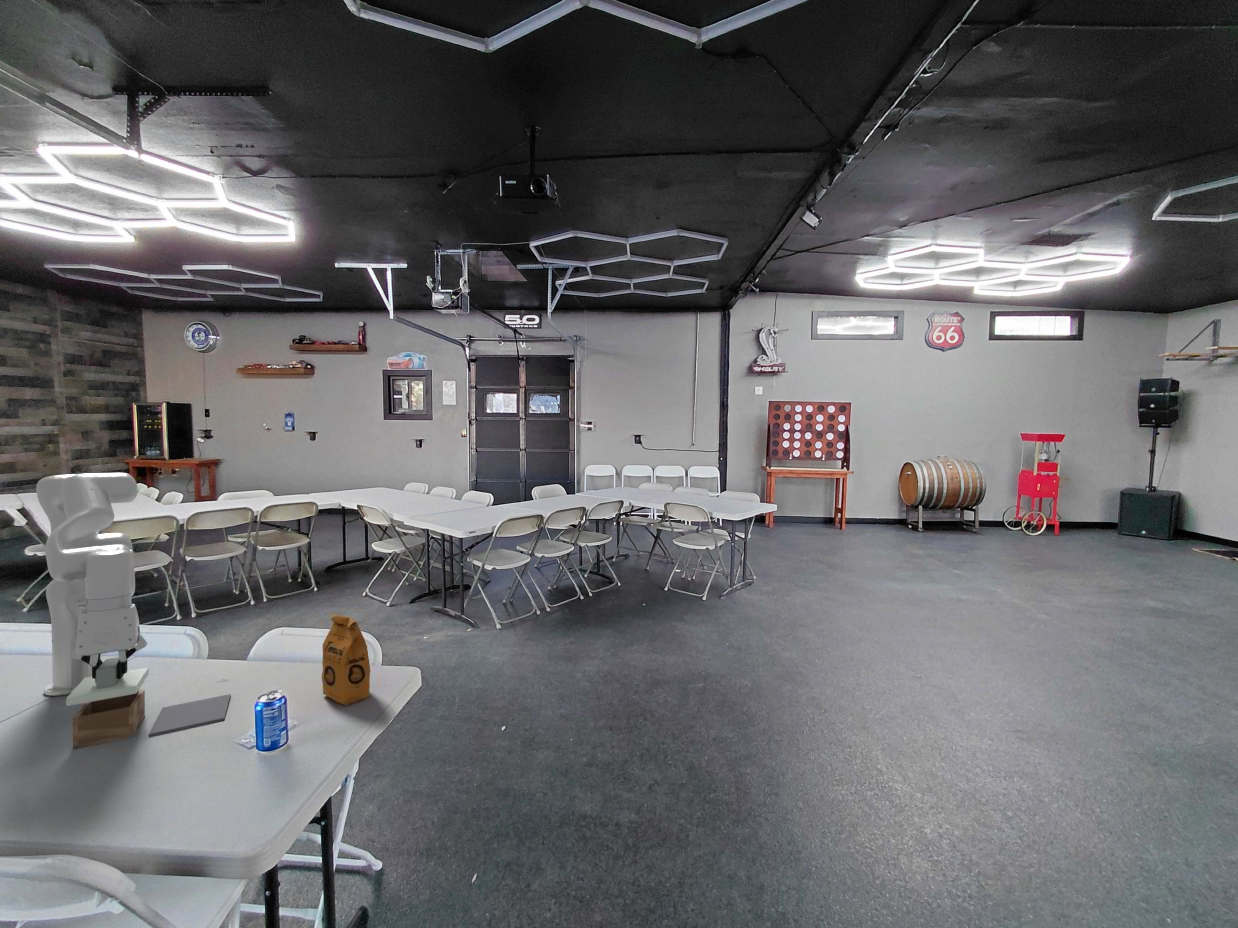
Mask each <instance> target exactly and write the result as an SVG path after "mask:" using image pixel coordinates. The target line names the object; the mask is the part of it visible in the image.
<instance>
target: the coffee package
mask: <svg viewBox="0 0 1238 928" xmlns="http://www.w3.org/2000/svg"><path fill="white" fill-rule="evenodd" d="M330 621H331V622H333V623H332V624H331V627H330V629H329V631H328V632H327V635H326V636H325V639H324V642H323V643H322V663H321V664H322V673H321V681H322V695H325V696H326V697H327V698H330V699H332V700H333V701H334V702H336V703H338V704H342V705H343V706H349V705H351V704H355V703H358V702H359V701H362V700H365V699H367V698H369V697H370V695H371V694H370V690H371V689H370V687H371V686H370V685H371V684H370V683H371V682H370V678H371V664H370V658H369V657H370V656H369V650H368V645H367V643H366V639H365V637H364V635H363V633H362V631H361V629H360V627H359V625H358V622H357V621H355V620H354V619H353V618H351V617H348V616H344V615H339V614H334V615H333V616H331V619H330Z"/></svg>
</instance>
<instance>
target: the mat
mask: <svg viewBox="0 0 1238 928" xmlns="http://www.w3.org/2000/svg"><path fill="white" fill-rule="evenodd" d="M230 701H231V694H230V693H229V694H224V695H218V696H214V697H209V698H204V699H199V700H195V701H190V702H185V703H184V702H183V703H180V704H174V705H169V706H164V707H162V708H161V710H160V712H159V714H158V715H157V718H156V719H155V721H154V724H153V725H152V727H151V729H150V731H149V733H148V737H153V736H159V735H163V734H166V733H167V734H168V733H171V732H177V731H181V730H185V729H189V728H194V727H199V726H204V725H208V724H212V723H217V722H222V721H224V720H225V718H226V714H227V712H228V711H227V710H228V707H229V703H230Z"/></svg>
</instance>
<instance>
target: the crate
mask: <svg viewBox="0 0 1238 928" xmlns="http://www.w3.org/2000/svg"><path fill="white" fill-rule="evenodd" d="M145 694H146V693H145V689H139V690H138V692H137V693H136V694H131V695H125V696H120V697H114V698H109V699H103V700H98V701H92V702H87V703H83V704H84V705H82V707H81V708H80V709H79V710H78V711H77V712H76V714H75V715H74V717H73V718H72V719H71V720H72V722H71V723H72V750H77V749H82V748H86V747H90V746H95V745H99V744H105V743H109V742H115V741H118V740H123V739H127V738H132V737H133V738H134V736H135V735H136V733H137V731H138V729H140V726H141V724H142V723H143V721H144V719H145V717H146V710H145V709H146V704H145V703H146V701H145V696H146V695H145Z"/></svg>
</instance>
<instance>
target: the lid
mask: <svg viewBox="0 0 1238 928" xmlns="http://www.w3.org/2000/svg"><path fill="white" fill-rule="evenodd" d="M118 660H119V656H117V657H112V658H106V659H105V660H104V661H103V663H102V665H101V666H100V667H99V668H98V669H97V670H96V683H95V678H94V679H92V677H86V678H84V679H83V680H82V681H81V683H80V684H79V685H78V686H77V687H76V688H75V689H74V690H73V691H72V692H71V694H68V696H67V697H66V698H65V700H66V701H65V704H66V705H65V706H66V707H68V706H69V707H70V706H74V705H81V704H85V703H87V702H92V701H98V700H103V699H109V698H114V697H120V696H125V695H131V694H136V693H137V692H138V691H139V690H140V689H141V687H142V685H143V684H144V683H145V681H146V679H147V678H148V676H149V673H150V672H149V669H150V668H149V667H143V668H137V669H130V670H127V673H125V674H124V675H123V677H122V678H121V679H117V663H118Z"/></svg>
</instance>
